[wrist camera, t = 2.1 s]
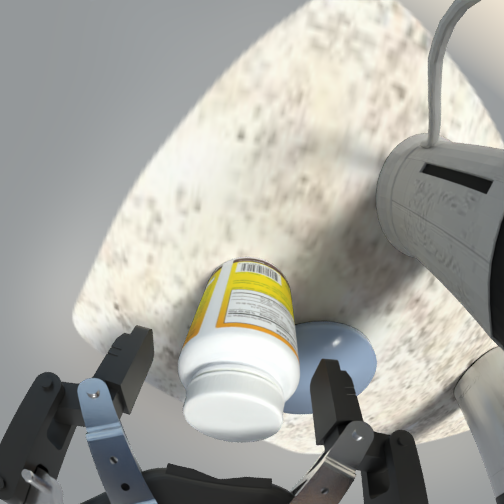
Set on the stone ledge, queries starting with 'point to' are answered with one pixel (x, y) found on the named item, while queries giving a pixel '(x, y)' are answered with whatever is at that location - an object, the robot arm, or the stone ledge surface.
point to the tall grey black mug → (449, 203)
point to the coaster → (330, 347)
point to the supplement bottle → (241, 353)
